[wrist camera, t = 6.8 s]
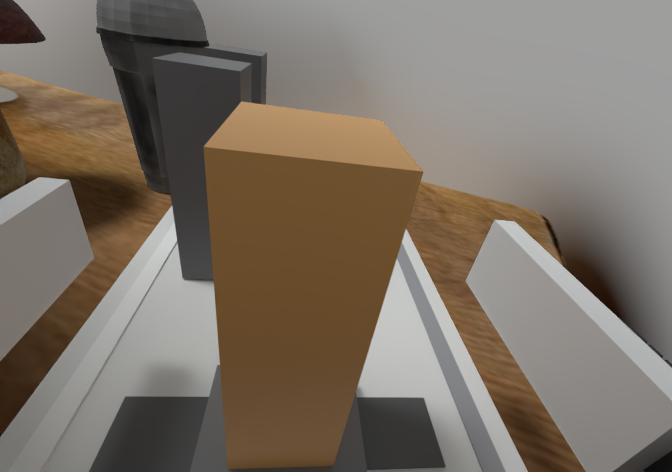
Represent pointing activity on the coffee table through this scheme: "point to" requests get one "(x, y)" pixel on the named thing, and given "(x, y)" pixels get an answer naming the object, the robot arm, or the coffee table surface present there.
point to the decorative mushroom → (3, 153)
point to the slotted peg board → (202, 338)
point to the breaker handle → (298, 282)
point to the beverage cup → (147, 65)
